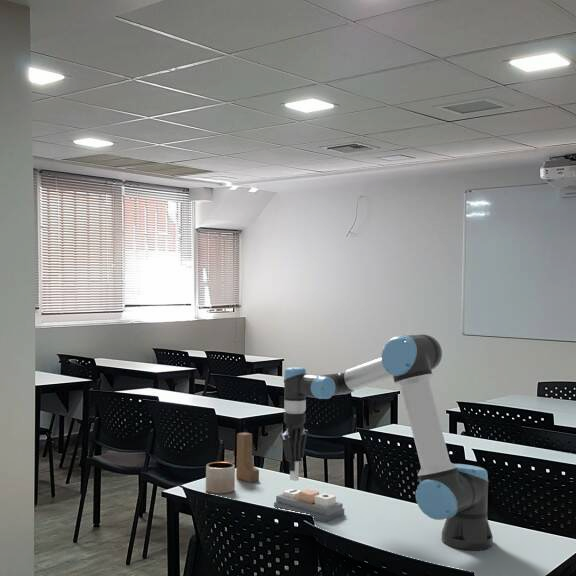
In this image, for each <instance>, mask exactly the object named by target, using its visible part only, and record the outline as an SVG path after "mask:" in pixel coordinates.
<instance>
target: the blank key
mask: <svg viewBox="0 0 576 576" xmlns="http://www.w3.org/2000/svg"><path fill="white" fill-rule="evenodd" d="M300 491H301V492H299V501H302V502H306V503H310V504H311V503H314V502H315V496H317V495H320V492H319V491H315V490H313V489H304V490H300Z"/></svg>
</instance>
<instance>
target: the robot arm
mask: <svg viewBox="0 0 576 576" xmlns="http://www.w3.org/2000/svg"><path fill="white" fill-rule="evenodd" d="M442 357H443V349H442V347H441V344H440V343H439V341H438V340H437V339H436V338H435V337H432V336H431V335H429V334H411V335H410V334H409V335H408V334H407V335H406V334H402V335H398V336H393V337H392V338H390V339H389V340H388V341H387V342H386V343H385V344H384V347H383V348H382V351H381V357H379V358H376V359H373V360H370V361H367V362H364V363H362V364H359V365H357V366H355V367H354V366H353V367H352V368H348V369H346V370H344V371H340V372H335V373H328V374H318V375H314V374H312V375H311V374H307V370H306V369H307V368H305V367H300V366H297V367H293V366H291V367H287V368H285V370H284V376H283V384H284V387H283V388H284V389H283V391H284V392H283V393H284V395H283V396H284V399H283V400H284V402H283V403H284V407H283V408H284V409H283V410H284V411H285V412H284V413H283V423H285V429H284V430H285V431H284V432H283V433H280V436H279V437H280V439H281V442H282V449H283V453H284V459H285V461H288V462H289V468H288V469H289V480H290V481H294V482H297V481H299V478H300V476H299V475H300V474H299V473H300V471H299V470H300V462H302V461H303V458H304V456H305V449H306V443H307V437H308V435H309V430H308V429H305V426H304V424H305V423H306V421H307V420H306V414H307V413H306V409H307V405H306V404H307V403H306V402H307V398H306V397H308V398H312V399H313V398H315V399H319V400H322V399H324V400H329V399H330V398H332V397H333V396H337V395H338V396H340V395H348V394H352V393H353V392H355V391H356V390H359V389H363V388H366V387H368V386H371V385H374V384H377V383H381V382H384V381H386V380H390V379H393V380H394V381H393V382H394V384H395V385H396V386H397V387H399V388H400V389H401V393H402V397H403V401H404V404H405V410H406V412H407V417H408V422H409V425H410V429H411V433H412V437H413V439H414V443H415V447H416V452H417V456H418V460H419V465H420V470H419V471H418V472H417V477H418V481H419V484H418V485H417V488H416V490H415V501H416V503H417V506H418V508H419V509H420V511H421V512H422V513H423V514H424V515H426V516H427V517H428V518H430V519H432V520H437V521H442V520H445V522H444V524H443V528H442V530H441V541H442V543H444V544H445V545H447V546H449V547H452V548H456V549H460V550H465V549H466V550H467V551H478V550H477V549H483V550H486V548H487V549H489V548H488V547H490V548H491V547H492V546H493V545H492V544H494V543H493V542H494V541H493V540H494V539H493V533H492V530H491V526H490V524H489V520H488V501H489V500H488V495H489V492H488V491H489V478H488V471H487V469H485V468H483V467H481V466H476V465H470V464H463V463H453V462H451V460H450V457H449V456H450V455H449V452H448V448H447V444H446V441H445V437H444V434H443V430H442V429H443V428H442V427H441V426H442V425H441V422H440V418H439V414H438V410H437V406H436V403H435V399H434V395H433V391H432V387H431V384H430V381H431V378H432V377H433V371H432V370H434V369H435V368H437V366H439V364H440V363H441V361H442Z"/></svg>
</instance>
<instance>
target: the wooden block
mask: <svg viewBox="0 0 576 576" xmlns="http://www.w3.org/2000/svg"><path fill="white" fill-rule="evenodd" d="M235 472H236V473H235V475H236V476H235V477H236V479H238V480H241V481H245V482H247V483H255V482H256V483H257V482H260V481H259V480H260V470H259V469H258V468H256V467H255V466H254V463H253V433H251V432H250V433H249V432H245V431H244V432H238V433H236V470H235Z"/></svg>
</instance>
